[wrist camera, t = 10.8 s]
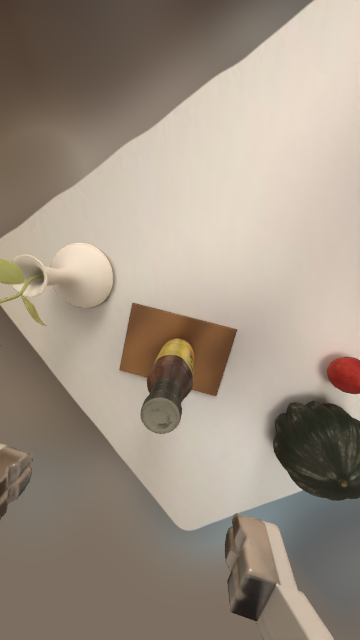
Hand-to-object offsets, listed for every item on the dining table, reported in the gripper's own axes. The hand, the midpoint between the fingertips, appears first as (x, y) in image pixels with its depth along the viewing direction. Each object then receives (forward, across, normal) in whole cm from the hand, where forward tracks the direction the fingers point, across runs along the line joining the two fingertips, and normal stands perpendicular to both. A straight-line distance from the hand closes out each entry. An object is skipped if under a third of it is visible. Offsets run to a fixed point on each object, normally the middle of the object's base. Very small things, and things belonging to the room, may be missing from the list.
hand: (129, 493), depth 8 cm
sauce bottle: (+31, 0, +6) cm, 32 cm away
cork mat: (+31, +1, +6) cm, 32 cm away
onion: (+32, -28, +2) cm, 43 cm away
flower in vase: (+32, +20, -3) cm, 37 cm away
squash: (+32, -27, +14) cm, 44 cm away
